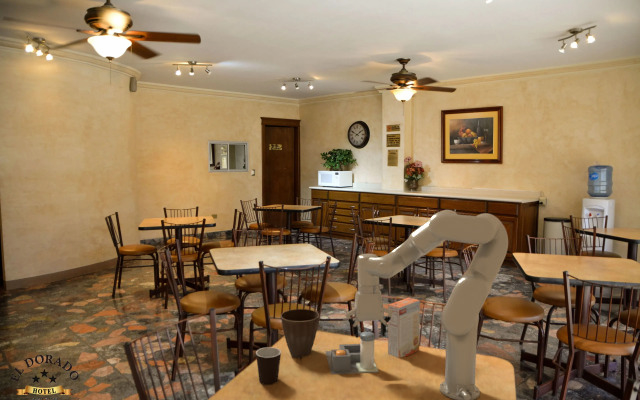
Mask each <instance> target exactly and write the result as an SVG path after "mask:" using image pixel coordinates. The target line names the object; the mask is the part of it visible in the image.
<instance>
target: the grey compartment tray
mask: <svg viewBox="0 0 640 400" xmlns="http://www.w3.org/2000/svg"><path fill="white" fill-rule="evenodd" d="M338 347H339V349H331V350H327V351H326V350H325V356H326V360H327V363H328V367H329V371H330V374H331V375H349V374H355V375H356V374H373V373H374V374H375V373H377V374H378V373H379V371H378V372H361V373H359V371H358V369H357V366H356V363H360V343H347V344H344V343H343V344H339V346H338ZM337 350H344V351H346V355H339V356H336V351H337Z"/></svg>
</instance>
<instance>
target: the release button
mask: <svg viewBox="0 0 640 400" xmlns="http://www.w3.org/2000/svg"><path fill="white" fill-rule="evenodd" d="M336 350H337V351H336V356H339V355H346V351H344V350H339V349H336Z"/></svg>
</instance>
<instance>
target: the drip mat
mask: <svg viewBox="0 0 640 400" xmlns="http://www.w3.org/2000/svg"><path fill="white" fill-rule="evenodd" d="M356 366H357V369H358V371H359V373H358V374H362V373H361V372H379V369H378V367H377V365H376V363H375V361H374V368H373V369H370V370H365V369H362V368H361V367H360V363H356Z"/></svg>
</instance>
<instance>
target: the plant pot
mask: <svg viewBox="0 0 640 400" xmlns="http://www.w3.org/2000/svg"><path fill="white" fill-rule="evenodd" d="M280 319H281V320H280V321H281V325H282V331H283V335H284V339H285V343H286V346H287V348H288V350H289V354H290V356H291V357H292V358H296V359H302V357H307V356H309V355H310V354H311V351H312V350H313V347H314V344H315V339H316V335H317V331H318V326H319V319H320V314H319V312H317V311H315V310H313V309H307V308H298V309H296V308H295V309H288V310H285V311H284V312H282V313H281V314H280Z"/></svg>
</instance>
